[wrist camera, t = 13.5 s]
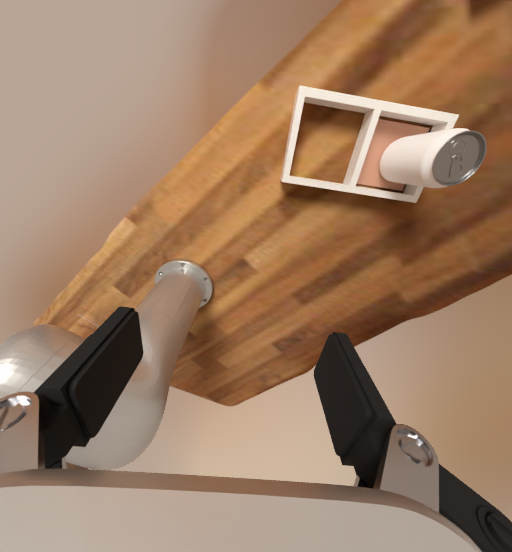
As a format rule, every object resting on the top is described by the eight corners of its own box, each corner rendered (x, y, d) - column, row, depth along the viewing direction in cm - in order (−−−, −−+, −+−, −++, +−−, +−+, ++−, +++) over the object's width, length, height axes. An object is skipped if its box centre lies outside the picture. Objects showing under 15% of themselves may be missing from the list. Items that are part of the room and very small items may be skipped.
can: (419, 130, 33) (496, 115, 22) (419, 173, 36) (486, 178, 25) (376, 146, 34) (429, 139, 23) (379, 187, 37) (428, 197, 26)
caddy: (405, 200, 38) (416, 202, 35) (280, 180, 36) (281, 181, 34) (442, 118, 32) (459, 114, 29) (296, 92, 31) (299, 85, 28)
